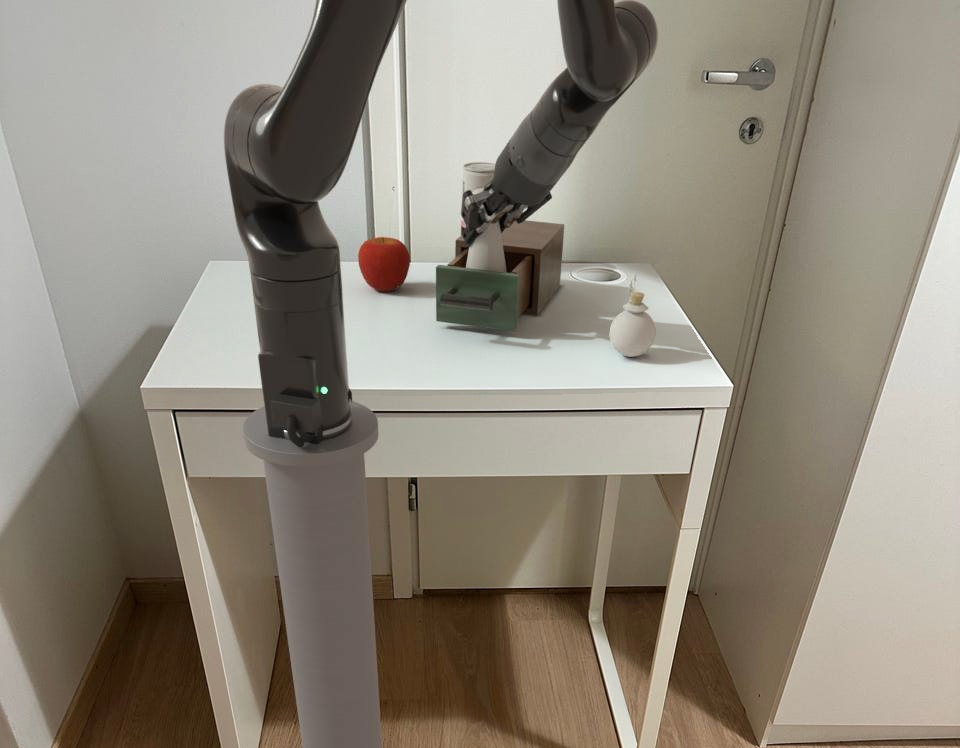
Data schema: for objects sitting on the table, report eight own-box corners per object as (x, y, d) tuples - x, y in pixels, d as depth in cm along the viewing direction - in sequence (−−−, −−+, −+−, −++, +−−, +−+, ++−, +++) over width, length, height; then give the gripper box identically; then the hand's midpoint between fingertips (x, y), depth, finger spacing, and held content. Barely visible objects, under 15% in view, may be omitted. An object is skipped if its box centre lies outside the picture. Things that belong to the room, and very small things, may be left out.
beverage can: (462, 258, 156) (463, 161, 147) (500, 259, 156) (504, 162, 147) (458, 269, 151) (459, 169, 142) (498, 271, 151) (501, 171, 142)
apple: (412, 296, 140) (410, 242, 135) (360, 297, 139) (357, 243, 134) (408, 280, 146) (407, 229, 141) (359, 281, 145) (356, 229, 140)
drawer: (505, 343, 122) (507, 287, 118) (424, 332, 125) (423, 277, 120) (539, 301, 136) (542, 249, 132) (465, 292, 139) (466, 241, 134)
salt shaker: (513, 293, 127) (518, 191, 119) (478, 299, 125) (480, 196, 117) (492, 281, 131) (494, 183, 123) (457, 287, 129) (457, 187, 121)
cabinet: (537, 315, 134) (541, 249, 128) (454, 305, 137) (455, 239, 131) (559, 286, 145) (564, 224, 140) (483, 277, 148) (484, 216, 142)
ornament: (612, 364, 120) (621, 286, 114) (601, 343, 126) (609, 268, 120) (657, 363, 120) (668, 285, 114) (643, 343, 126) (654, 268, 120)
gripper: (569, 122, 114) (506, 207, 129) (478, 132, 107) (423, 221, 122) (593, 177, 113) (528, 256, 129) (504, 190, 107) (446, 271, 122)
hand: (477, 238), depth 125 cm, fingers closed on salt shaker, 3 cm apart
